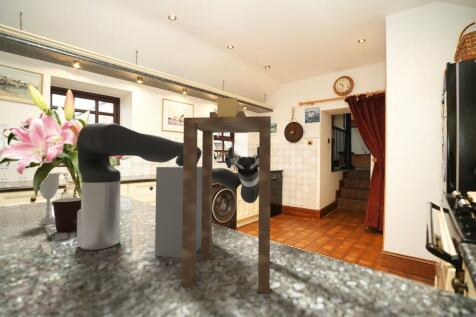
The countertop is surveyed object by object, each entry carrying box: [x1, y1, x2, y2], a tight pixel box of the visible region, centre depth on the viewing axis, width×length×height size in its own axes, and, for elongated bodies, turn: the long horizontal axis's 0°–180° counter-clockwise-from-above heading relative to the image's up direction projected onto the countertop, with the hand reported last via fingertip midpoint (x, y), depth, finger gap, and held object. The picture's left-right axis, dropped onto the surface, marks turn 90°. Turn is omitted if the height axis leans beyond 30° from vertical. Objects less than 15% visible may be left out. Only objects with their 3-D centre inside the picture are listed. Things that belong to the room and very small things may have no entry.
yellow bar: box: [216, 97, 249, 134], centre depth 53 cm, size 4×22×4 cm, turn 172°
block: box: [154, 165, 202, 259], centre depth 62 cm, size 9×14×22 cm, turn 172°
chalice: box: [38, 172, 61, 226], centre depth 85 cm, size 7×7×18 cm
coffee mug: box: [52, 197, 81, 234], centre depth 78 cm, size 12×9×10 cm
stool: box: [181, 110, 272, 295], centre depth 48 cm, size 16×14×32 cm
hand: (244, 149), depth 72 cm, fingers open, 8 cm apart
